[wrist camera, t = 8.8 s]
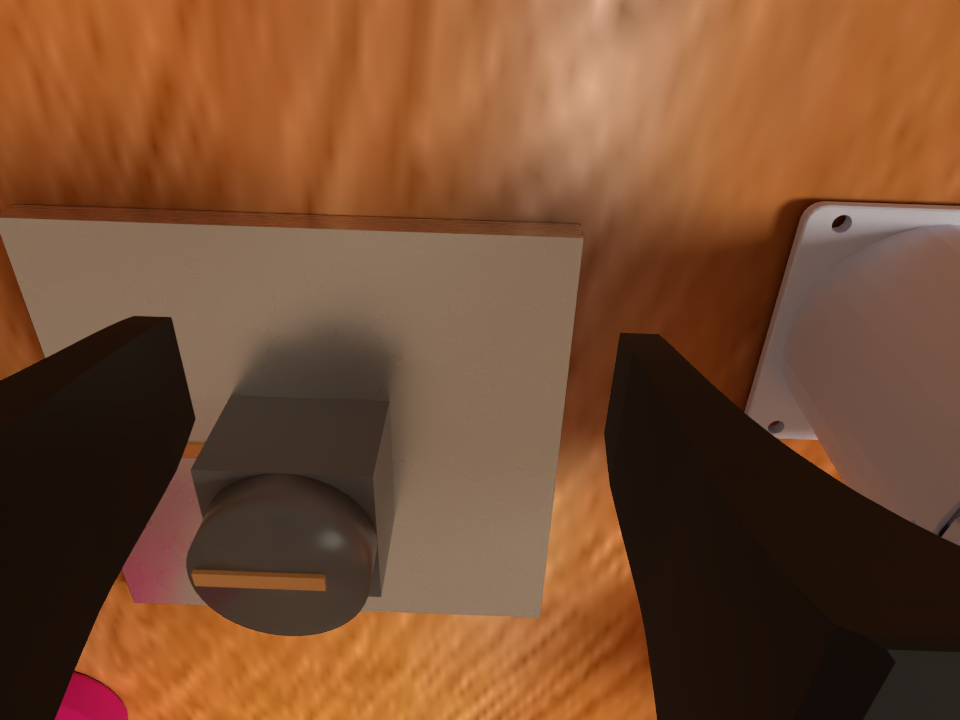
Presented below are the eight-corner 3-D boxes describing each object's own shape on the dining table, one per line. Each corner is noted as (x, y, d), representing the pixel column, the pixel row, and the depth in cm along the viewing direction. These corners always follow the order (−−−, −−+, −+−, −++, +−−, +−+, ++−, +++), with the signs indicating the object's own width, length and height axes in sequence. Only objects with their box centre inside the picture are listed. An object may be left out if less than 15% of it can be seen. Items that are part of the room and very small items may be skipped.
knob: (389, 401, 22) (363, 521, 18) (395, 515, 25) (373, 643, 21) (231, 395, 22) (166, 513, 18) (253, 510, 25) (202, 637, 21)
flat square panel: (580, 223, 20) (594, 279, 17) (538, 596, 29) (543, 675, 26) (15, 204, 20) (-68, 256, 17) (144, 582, 29) (104, 659, 26)
